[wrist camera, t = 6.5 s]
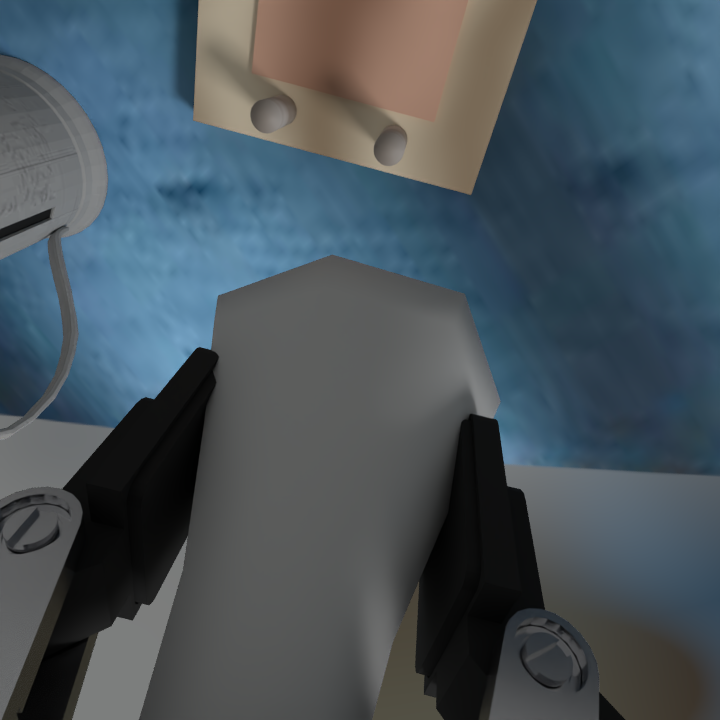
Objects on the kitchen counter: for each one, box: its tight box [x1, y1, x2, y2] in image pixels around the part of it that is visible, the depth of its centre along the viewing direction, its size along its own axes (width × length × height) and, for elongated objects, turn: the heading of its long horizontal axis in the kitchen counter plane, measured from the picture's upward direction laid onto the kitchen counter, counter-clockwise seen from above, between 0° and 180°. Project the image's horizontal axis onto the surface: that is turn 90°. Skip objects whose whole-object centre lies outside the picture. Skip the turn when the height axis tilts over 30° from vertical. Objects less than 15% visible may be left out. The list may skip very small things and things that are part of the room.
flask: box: [139, 255, 500, 720], centre depth 8 cm, size 7×7×10 cm
